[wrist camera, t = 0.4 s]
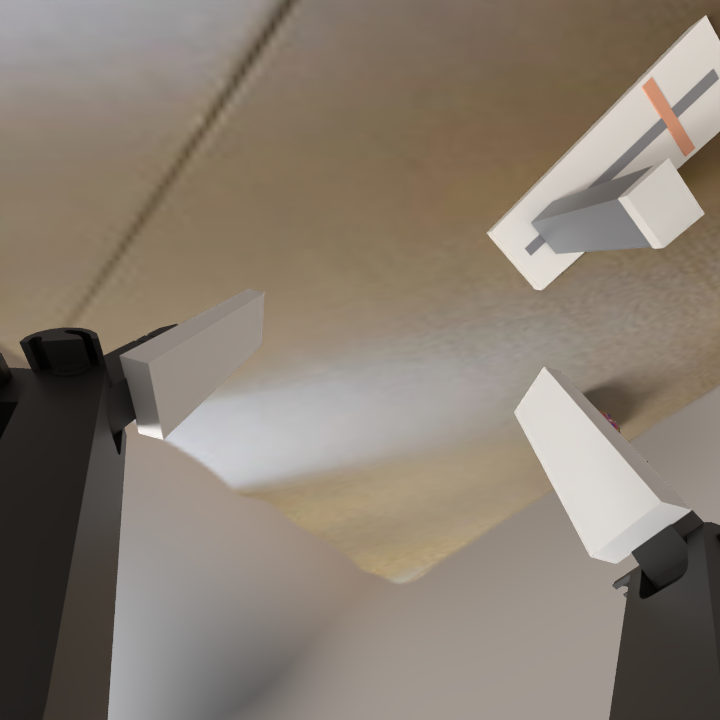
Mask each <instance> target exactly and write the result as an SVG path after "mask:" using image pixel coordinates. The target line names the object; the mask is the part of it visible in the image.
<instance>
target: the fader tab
mask: <svg viewBox="0 0 720 720" xmlns="http://www.w3.org/2000/svg"><path fill="white" fill-rule="evenodd" d="M703 215H704V212H703V211H702V209H701V208H700V206H699V204H698V203H697V201H696V200H695V198H694V197H693V195H692V193H691V192H690V190H689V189H688V187H687V186H686V184H685V183H684V181H683V179H682V178H681V176H680V175H679V173H678V172H677V170H676V169H675V167H674V165H673V164H672V162H671V161H670V159H669V158H667V159H664V160H661V161H658V162H657V163H656V164H654V165H653V166H650V167H647V168H645V169H642V170H639V171H636V172H633V173H631V174H628V175H625V176H622V177H619V178H617V179H614V180H611V181H608V182H606V183H603V184H600V185H597V186H594V187H592V188H589V189H586V190H583V191H580V192H578V193H575V194H572V195H569V196H566V197H564V198H561V199H558V200H555V201H552V202H551V203H550V204H549V205H548V206H547V207H546V208H545V209H544V210H543V211H542V212H541V213H540V214H539V215H538V216H537V217H536V218H535V219H534V220H533V221H532V222H531V224H532V225H533V227H534V228H535V229H536V230H537V231H538V233H539V234H540V235H541V236H542V238H543V239H544V240H545V241H546V243H547V244H548V245H549V246H550V247H551V249H552V250H553V251H554V252H555V254H563V253H577V252H590V251H604V250H617V249H631V248H644V247H653V249H656V248H664V247H665V246H667V245H668V244H669V243H670V242H671V241H673V240H674V239H675V238H676V237H677V236H679V235H680V234H681V233H682V232H683V231H685V230H686V229H687V228H688V227H689V226H691V225H692V224H693V223H694V222H695V221H697V220H698V219H699V218H700V217H701V216H703Z"/></svg>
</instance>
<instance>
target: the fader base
mask: <svg viewBox="0 0 720 720" xmlns="http://www.w3.org/2000/svg"><path fill="white" fill-rule="evenodd" d="M718 132H720V40H719V39H718V37H717V35H716V33H715V31H714V29H713V27H712V26H711V24H710V22H709V20H708V18H707V16H704V17H703V18H702V19H700V20H699V21H698V22H696V23H695V24H694V25H692V26H691V27H689V28H688V29H687V30H686V31H685V32H684V33H683V34H682V35H681V36H680V37H679V38H678V39H677V40H676V41H675V42H674V44H673V45H672V46H671V47H670V48H669V49H668V50H667V51H666V52H665V53H664V54H663V55H662V56H661V57H660V58H659V59H658V60H657V61H656V62H655V63H654V64H653V65H652V66H651V67H650V68H649V69H648V70H647V71H646V72H645V73H644V74H643V75H642V76H641V77H640V78H639V79H638V80H637V81H636V82H635V83H634V84H633V85H632V86H631V87H630V88H629V89H628V90H627V91H626V92H625V93H624V94H623V95H622V96H621V97H620V98H619V99H618V100H617V101H616V102H615V103H614V104H613V105H612V106H611V107H610V108H609V109H608V110H607V111H606V112H605V113H604V114H603V115H602V116H601V117H600V118H599V119H598V120H597V121H596V122H595V123H594V124H593V125H592V126H591V127H590V128H589V130H588V131H587V132H586V133H585V134H584V135H583V136H582V137H581V138H580V139H579V140H578V141H577V142H576V143H575V144H574V145H573V146H572V147H571V148H570V149H569V150H568V151H567V152H566V153H565V154H564V155H563V156H562V157H561V158H560V159H559V160H558V161H557V162H556V163H555V164H554V165H553V166H552V167H551V168H550V169H549V170H548V171H547V172H546V173H545V174H544V175H543V176H542V177H541V178H540V179H539V180H538V181H537V182H536V183H535V184H534V185H533V186H532V187H531V188H530V189H529V190H528V191H527V192H526V193H525V194H524V195H523V196H522V197H521V198H520V199H519V200H518V201H517V202H516V203H515V204H514V205H513V206H512V207H511V208H510V209H509V210H508V211H507V212H506V213H505V214H504V216H503V217H502V218H501V219H500V220H499V221H498V222H497V223H496V224H495V225H494V226H493V227H492V228H491V229H490V230H489V231H488V232H487V234H488V235H489V237H490V238H491V239H492V240H493V241H494V242H495V244H496V245H497V246H498V247H499V248H500V249H501V251H502V252H503V253H504V254H505V255H506V256H507V257H508V259H509V260H510V261H511V262H512V263H513V264H514V266H515V267H516V268H517V269H518V270H519V271H520V273H521V274H522V275H523V276H524V277H525V278H526V279H527V281H528V282H529V283H530V284H531V285H532V286H533V288H534V289H536V290H543V289H544V288H545V287H546V286H547V285H548V284H550V283H551V282H552V281H553V280H554V279H555V278H556V277H557V276H558V275H560V274H561V273H562V272H563V271H564V270H565V269H566V268H567V267H569V266H570V265H571V264H572V263H573V262H574V261H575V260H576V259H577V258H579V257H580V256H581V255H582V254H583V253H584V252H577V253H563V254H555V252H554V251H553V250H552V249H551V247H550V246H549V245H548V244H547V243H546V241H545V240H544V239H543V238H542V236H541V235H540V234H539V233H538V231H537V230H536V229H535V228H534V227H533V225H532V224H531V222H532V221H533V220H534V219H535V218H536V217H537V216H538V215H539V214H540V213H541V212H542V211H543V210H544V209H545V208H546V207H547V206H548V205H549V204H550V203H551V202H552V201H555V200H558V199H561V198H564V197H566V196H569V195H572V194H575V193H578V192H580V191H583V190H586V189H589V188H592V187H594V186H597V185H600V184H603V183H606V182H608V181H611V180H614V179H617V178H619V177H622V176H625V175H628V174H631V173H633V172H636V171H639V170H642V169H645V168H647V167H650V166H653V165H654V164H656V163H657V162H658V161H661V160H664V159H667V158H669V159H670V161H671V162H672V164H673V165H674V167H675V169H676V170H677V169H678V168H679V167H680V166H682V165H683V164H684V163H685V162H686V161H687V160H688V159H689V158H690V157H692V156H693V155H694V154H695V153H696V152H697V151H698V150H699V149H701V148H702V147H703V146H704V145H705V144H706V143H707V142H708V141H709V140H711V139H712V138H713V137H714V136H715V135H716V134H717V133H718Z"/></svg>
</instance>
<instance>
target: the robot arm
mask: <svg viewBox="0 0 720 720" xmlns="http://www.w3.org/2000/svg"><path fill="white" fill-rule="evenodd" d="M263 311H264V293H263V292H259V291H255V290H252V289H247V290H245V291H243V292H241V293H239V294H237V295H235V296H233V297H231V298H229V299H227V300H225V301H224V302H222V303H220V304H218V305H216V306H214V307H212V308H210V309H208V310H206V311H204V312H202V313H200V314H199V315H197V316H195V317H193V318H191V319H189V320H187V321H185V322H183V323H181V324H179V325H178V324H174V325H170V326H166V327H162V328H159V329H157V330H155V331H153V332H151V333H149V334H147V336H143V337H141V338H139V339H137V341H132V342H130V343H128V344H126V345H124V346H122V347H120V348H118V349H116V350H114V351H112V352H110V353H108V354H106V355H104V356H103V352H102V349H101V345H100V342H99V338H98V335H97V333H95V332H93V331H91V330H88V329H83V328H57V329H49V330H45V331H40V332H37V333H34V334H32V335H29V336H27V337H25V338H24V339H23V340H22V341H20V345H21V347H22V349H23V351H24V353H25V356H26V358H27V360H28V362H29V364H30V367H31V369H24V368H9V367H8V365H7V364H6V361H5V359H4V357H3V355H2V353H0V720H107V719H108V705H109V690H110V675H111V660H112V659H111V658H112V644H113V630H114V615H115V600H116V585H117V570H118V555H119V540H120V525H121V510H122V495H123V481H124V465H125V451H126V450H125V449H126V433H125V429H124V427H125V426H127V425H128V424H129V423H131V422H132V421H133V420H134V419H136V423H137V427H138V431H139V433H140V434H144V435H148V436H151V437H155V438H159V439H162V440H164V439H165V438H166V437H167V436H168V435H169V434H170V433H171V432H172V431H173V430H174V429H175V428H176V427H177V426H178V425H179V424H180V423H181V422H182V421H183V420H184V419H186V418H187V417H188V416H189V415H190V414H191V413H192V412H193V411H194V410H195V409H196V408H197V407H198V406H199V405H200V404H201V403H202V402H203V401H204V400H205V399H206V398H207V397H208V396H209V395H210V394H211V393H213V392H214V391H215V390H216V389H217V388H218V387H219V386H220V385H221V384H222V383H223V382H224V381H225V380H226V379H227V378H228V377H229V376H230V375H231V374H232V373H233V372H234V371H235V370H236V369H237V368H239V367H240V366H241V365H242V364H243V363H244V362H245V361H246V360H247V359H248V358H249V357H250V356H251V355H252V354H253V353H254V352H255V351H256V350H257V349H258V348H259V347H260V346H261V345H262V332H263ZM514 413H515V415H516V417H517V419H518V421H519V423H520V424H521V426H522V428H523V430H524V432H525V434H526V436H527V438H528V440H529V441H530V443H531V445H532V447H533V449H534V451H535V453H536V455H537V457H538V459H539V460H540V462H541V464H542V466H543V468H544V470H545V472H546V474H547V476H548V477H549V479H550V481H551V483H552V485H553V487H554V489H555V491H556V493H557V494H558V496H559V498H560V500H561V502H562V504H563V506H564V508H565V509H566V511H567V513H568V515H569V517H570V519H571V521H572V523H573V525H574V527H575V528H576V530H577V532H578V534H579V536H580V538H581V540H582V542H583V544H584V546H585V547H586V549H587V551H588V553H589V555H590V557H593V558H596V559H600V560H604V561H607V562H611V563H615V564H617V563H618V562H620V561H621V560H622V559H624V558H625V557H627V556H628V555H629V554H631V553H632V554H633V556H634V557H635V559H636V560H637V562H638V563H639V566H638V567H636V568H635V569H633V570H632V571H630V572H629V573H627V574H626V575H624V576H623V577H621V578H620V579H618V580H617V581H615V582H614V584H613V587H614V588H616V589H618V588H620V587H621V586H627V587H628V592H626V593H625V594H624V596H625V597H626V598H627V601H626V607H625V614H624V621H623V628H622V635H621V642H620V648H619V656H618V662H617V669H616V676H615V683H614V690H613V697H612V704H611V711H610V718H609V720H720V525H718V524H715V523H712V522H703V521H702V520H701V519H700V518H699V517H698V516H697V515H696V514H695V513H694V512H693V510H692V509H691V508H690V507H689V506H688V505H687V504H686V503H685V502H684V501H683V500H682V499H681V498H680V497H679V496H678V494H677V493H676V492H675V491H674V490H673V489H672V488H671V487H670V486H669V485H668V484H667V483H666V482H665V481H664V480H663V479H662V478H661V477H660V476H659V474H658V473H657V472H656V471H655V470H654V469H653V468H652V467H651V466H650V465H649V464H648V463H647V462H646V461H645V460H644V459H643V457H642V456H641V455H640V454H639V453H638V452H637V451H636V450H635V449H634V448H633V447H632V446H631V445H630V444H629V443H628V442H627V441H626V439H625V438H624V437H623V436H622V435H621V434H620V433H619V432H618V431H617V430H616V429H615V428H614V427H613V426H612V425H611V424H610V423H609V421H608V420H607V419H606V418H605V417H604V416H603V415H602V414H601V413H600V412H599V411H598V410H597V409H596V408H595V407H594V406H593V405H592V404H591V402H590V401H589V400H588V399H587V398H586V397H585V396H584V395H583V394H582V393H581V392H580V391H579V390H578V389H577V388H576V387H575V386H574V384H573V383H572V382H571V381H570V380H569V379H568V378H567V377H566V376H565V375H564V374H563V373H562V372H561V371H559V370H556V369H552V368H548V367H543V369H542V370H541V372H540V373H539V375H538V376H537V378H536V379H535V381H534V382H533V384H532V386H531V387H530V389H529V390H528V392H527V393H526V395H525V396H524V398H523V399H522V401H521V402H520V404H519V405H518V407H517V408H516V410H515V411H514Z"/></svg>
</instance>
